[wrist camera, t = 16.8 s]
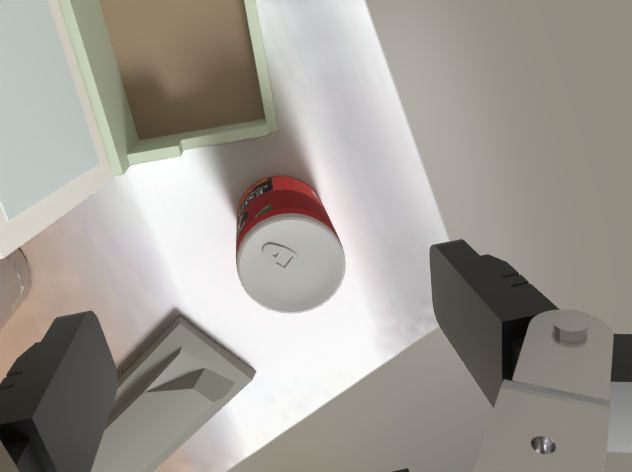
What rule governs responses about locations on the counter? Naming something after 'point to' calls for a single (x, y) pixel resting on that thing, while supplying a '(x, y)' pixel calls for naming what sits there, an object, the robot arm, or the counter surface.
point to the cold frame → (170, 74)
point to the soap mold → (168, 398)
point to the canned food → (287, 246)
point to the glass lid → (42, 124)
